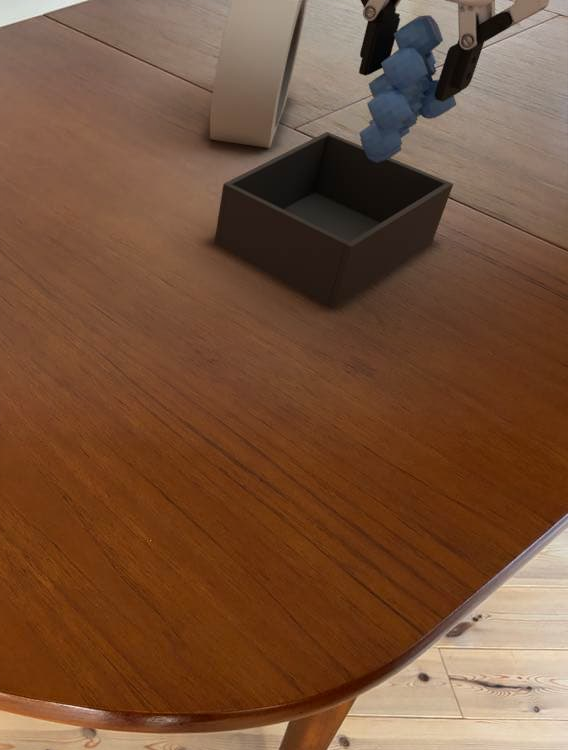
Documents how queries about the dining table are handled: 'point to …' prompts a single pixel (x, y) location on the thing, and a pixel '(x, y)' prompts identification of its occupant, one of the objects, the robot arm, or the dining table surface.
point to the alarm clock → (255, 69)
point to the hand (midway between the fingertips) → (410, 80)
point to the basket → (330, 217)
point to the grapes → (404, 89)
